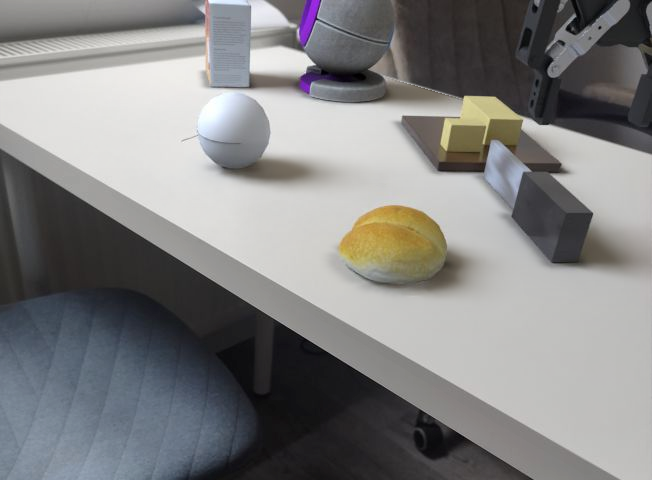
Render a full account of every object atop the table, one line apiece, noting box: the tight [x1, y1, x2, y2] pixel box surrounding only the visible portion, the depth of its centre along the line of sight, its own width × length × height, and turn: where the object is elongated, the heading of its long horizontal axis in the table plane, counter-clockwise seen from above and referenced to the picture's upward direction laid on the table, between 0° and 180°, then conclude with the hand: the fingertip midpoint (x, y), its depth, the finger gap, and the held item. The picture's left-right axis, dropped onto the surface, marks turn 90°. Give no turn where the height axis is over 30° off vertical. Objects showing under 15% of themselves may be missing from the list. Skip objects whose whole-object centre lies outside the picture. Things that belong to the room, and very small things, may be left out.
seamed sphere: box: [181, 91, 272, 170], centre depth 69 cm, size 10×7×7 cm
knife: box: [483, 140, 594, 263], centre depth 65 cm, size 19×2×4 cm, turn 8°
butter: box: [459, 95, 524, 145], centre depth 82 cm, size 4×9×3 cm, turn 8°
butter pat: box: [440, 118, 486, 152], centre depth 77 cm, size 4×2×3 cm, turn 98°
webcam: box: [298, 0, 396, 103], centre depth 94 cm, size 13×13×15 cm
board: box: [400, 115, 563, 173], centre depth 82 cm, size 14×16×1 cm
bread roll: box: [338, 204, 448, 285], centre depth 56 cm, size 8×9×4 cm
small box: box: [204, 0, 252, 88], centre depth 96 cm, size 8×6×10 cm
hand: (589, 123), depth 57 cm, fingers open, 8 cm apart
